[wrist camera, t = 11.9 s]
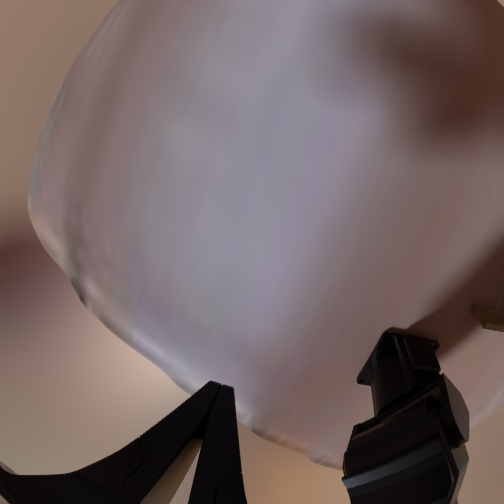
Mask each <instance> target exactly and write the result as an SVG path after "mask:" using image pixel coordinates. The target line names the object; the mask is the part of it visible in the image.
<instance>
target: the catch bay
mask: <svg viewBox="0 0 504 504" xmlns="http://www.w3.org/2000/svg"><path fill="white" fill-rule="evenodd" d="M471 311H472V312H473V314H474V315H475V317H476V318H477V319H478V321H479V322H480V324H481V325H482V327H483V328H484V329H489V330H495V331H501V332H504V312H503V311H499V310H495V309H491V308H487V307H483V306H479V305H475V304H473V306H472V308H471Z"/></svg>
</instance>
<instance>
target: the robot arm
mask: <svg viewBox="0 0 504 504" xmlns="http://www.w3.org/2000/svg"><path fill="white" fill-rule="evenodd" d="M386 337H388V338H387V339H385V338H386ZM438 348H439V343H438V341H436V340H430V339H428V338H422V337H416V336H410V335H401V334H395V333H390V332H386V333H383V334H382V335H381V337H380V339H379V341H378V343H377V345H376V346H375V348H374V350H373V352H372V353H371V355H370V357H369V359H368V360H367V362H366V364H365V365H364V367H363V369H362V370H361V372H360V374H359V375H358V377H357V383H358V384H362V385H369V386H371V390H372V398H373V406H374V415H375V417H373V418H371V419H369V420H367V421H365V422H363V423H359V424H357V425H355V426H354V427H353V431H352V434H351V438H350V441H349V444H348V447H347V451H346V452H345V453H344V460H343V473H344V477H342V481H343V483H344V485H345V486H346V488H347V491H348V494H349V497H350V502H351V504H458V501H457V496H458V493H459V490H460V488H461V485H462V482H463V478H464V475H465V472H466V469H467V465H468V461H469V457H468V453H467V450H466V446H465V443H466V442H467V441H468V440H469V411H468V409H467V407H466V404H465V402H464V399H463V397H462V395H461V393H460V392H459V391H458V389H457V388H456V387H455V386H454V385H453V383H452V382H451V381H450V380H449V379H448V378H447V376H446V375H445V374H444V373H442V374H441V375H440V374H439V372H440V371H441V368H440V365H439V363H438V360H437V358H436V355H435V353H436V351H437V350H438ZM361 379H362V380H361ZM200 448H201V450H200V454H199V458H198V462H197V467H196V471H195V475H194V480H193V484H192V488H191V493H190V497H189V502H188V504H247V500H246V496H245V490H244V484H243V475H242V467H241V458H240V449H239V439H238V429H237V418H236V407H235V395H234V388H233V387H231V386H228V385H221V383H218V382H214V381H209V382H208V383H206V384H205V385H204V386H203V387H202V388H201V389H199V390H198V391H197V392H196V393H194V394H193V395H192V396H191V397H190V398H188V399H187V400H186V401H185V402H183V403H182V404H181V405H180V406H178V407H177V408H176V409H175V410H174V411H172V412H171V413H170V414H168V415H167V416H166V417H164V418H163V419H162V420H161V421H159V422H158V423H157V424H155V425H154V426H153V427H151V428H150V429H149V430H147V431H146V432H145V433H143V434H142V435H141V436H140V438H139V437H138V438H136V439H135V440H134V441H132V442H131V443H129V444H128V445H126V446H125V447H123V448H122V449H120V450H119V451H117V452H115V453H113V454H111V455H110V456H107V457H105V458H103V459H101V460H99V461H97V462H95V463H93V464H91V465H88V466H86V467H84V468H82V469H79V470H77V471H74V472H70V473H65V474H54V475H18V474H17V473H15V472H14V471H13V470H11V469H10V468H9V467H7V466H6V465H4V463H2V462H1V461H0V504H169V503H170V502H171V500H172V498H173V496H174V495H175V493H176V491H177V490H178V488H179V486H180V484H181V482H182V481H183V479H184V477H185V475H186V474H187V472H188V470H189V468H190V466H191V464H192V463H193V461H194V459H195V457H196V455H197V453H198V452H199V449H200Z"/></svg>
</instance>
